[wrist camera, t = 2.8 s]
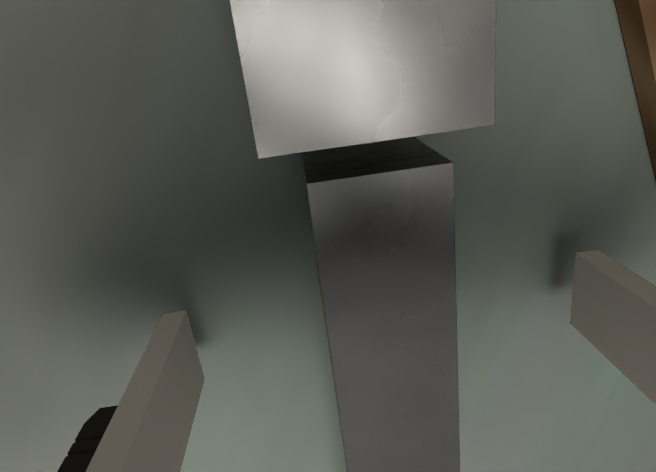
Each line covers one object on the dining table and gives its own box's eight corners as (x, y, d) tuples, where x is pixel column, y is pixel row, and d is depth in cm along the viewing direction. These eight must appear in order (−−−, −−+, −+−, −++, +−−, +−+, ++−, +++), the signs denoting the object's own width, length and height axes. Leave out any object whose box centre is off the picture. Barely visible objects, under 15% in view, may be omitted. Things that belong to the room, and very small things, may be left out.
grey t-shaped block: (236, -35, 13) (216, -74, 9) (429, -58, 13) (497, -107, 9) (326, 486, 21) (337, 596, 17) (447, 465, 21) (489, 568, 17)
